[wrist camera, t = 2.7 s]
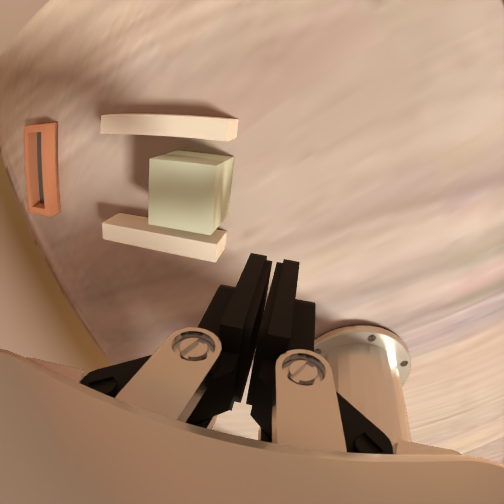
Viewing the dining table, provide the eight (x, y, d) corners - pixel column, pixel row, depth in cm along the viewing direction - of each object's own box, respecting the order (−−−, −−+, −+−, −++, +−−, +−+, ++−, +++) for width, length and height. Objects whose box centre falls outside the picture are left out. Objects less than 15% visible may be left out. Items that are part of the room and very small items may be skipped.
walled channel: (225, 247, 28) (215, 262, 25) (120, 227, 29) (103, 239, 27) (238, 119, 23) (228, 119, 20) (120, 113, 24) (101, 115, 22)
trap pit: (60, 211, 30) (50, 216, 28) (39, 207, 30) (28, 212, 29) (57, 122, 26) (46, 124, 24) (35, 124, 26) (24, 126, 25)
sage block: (228, 214, 27) (210, 235, 22) (174, 205, 27) (148, 224, 23) (234, 156, 25) (216, 165, 20) (177, 150, 25) (149, 158, 21)
